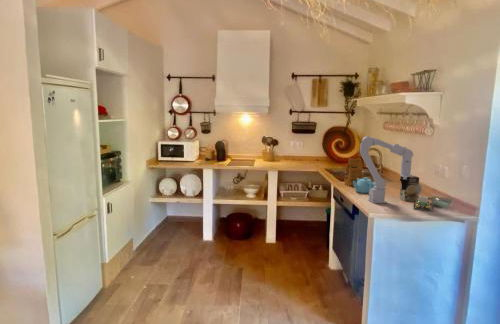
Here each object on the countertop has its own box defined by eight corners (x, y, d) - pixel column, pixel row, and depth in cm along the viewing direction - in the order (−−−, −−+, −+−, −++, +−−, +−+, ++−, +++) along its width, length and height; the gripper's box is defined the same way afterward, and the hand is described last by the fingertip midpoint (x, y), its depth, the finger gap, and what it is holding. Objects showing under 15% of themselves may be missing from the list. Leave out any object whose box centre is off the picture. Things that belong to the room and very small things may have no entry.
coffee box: (403, 201, 219) (405, 177, 217) (399, 198, 225) (401, 175, 223) (417, 201, 219) (419, 177, 217) (412, 198, 226) (414, 175, 223)
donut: (419, 195, 235) (421, 181, 233) (422, 196, 231) (423, 182, 230) (405, 195, 235) (406, 181, 233) (407, 196, 231) (408, 182, 230)
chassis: (432, 211, 195) (432, 204, 195) (413, 209, 200) (414, 202, 199) (431, 206, 207) (431, 199, 206) (413, 204, 211) (414, 197, 211)
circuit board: (429, 206, 197) (429, 199, 197) (416, 204, 200) (416, 198, 200) (428, 202, 206) (429, 196, 205) (416, 200, 209) (416, 194, 208)
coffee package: (343, 183, 270) (344, 157, 267) (357, 183, 271) (359, 157, 268) (347, 186, 260) (349, 159, 257) (362, 186, 261) (364, 159, 258)
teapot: (350, 192, 242) (351, 177, 240) (356, 188, 254) (357, 174, 253) (372, 195, 234) (373, 180, 232) (377, 191, 246) (378, 177, 244)
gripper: (412, 169, 201) (410, 191, 203) (413, 166, 214) (411, 187, 216) (400, 168, 204) (398, 190, 206) (401, 165, 217) (399, 185, 219)
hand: (404, 188), depth 211 cm, fingers open, 7 cm apart
